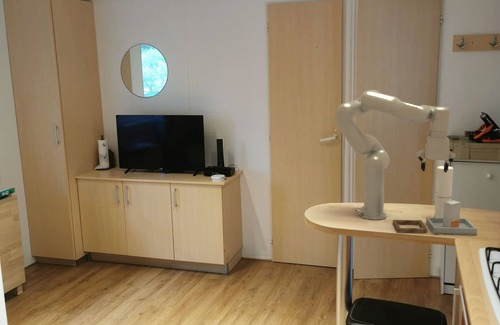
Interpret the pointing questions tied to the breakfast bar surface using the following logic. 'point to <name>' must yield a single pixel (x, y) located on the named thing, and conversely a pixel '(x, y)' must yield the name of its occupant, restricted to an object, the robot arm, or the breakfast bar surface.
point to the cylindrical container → (443, 189)
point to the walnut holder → (409, 230)
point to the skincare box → (451, 214)
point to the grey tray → (463, 229)
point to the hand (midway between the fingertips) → (434, 171)
